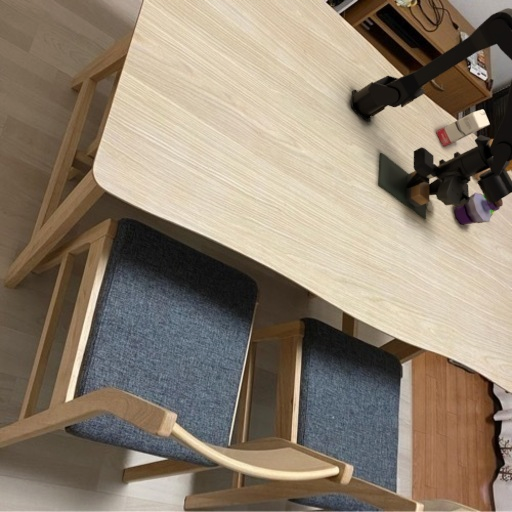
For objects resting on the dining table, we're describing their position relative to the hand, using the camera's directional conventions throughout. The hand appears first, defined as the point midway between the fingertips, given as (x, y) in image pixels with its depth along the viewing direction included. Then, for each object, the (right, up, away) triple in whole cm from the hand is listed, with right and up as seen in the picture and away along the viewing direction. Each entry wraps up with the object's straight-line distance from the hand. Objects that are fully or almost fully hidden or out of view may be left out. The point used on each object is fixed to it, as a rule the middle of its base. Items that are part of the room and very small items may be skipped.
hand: (412, 190), depth 144 cm
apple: (+26, -3, +23) cm, 35 cm away
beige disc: (+5, -4, +4) cm, 8 cm away
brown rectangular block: (0, 0, 0) cm, 0 cm away
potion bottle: (+17, -6, +14) cm, 23 cm away
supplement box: (+32, +9, +34) cm, 47 cm away
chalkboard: (-3, +1, -1) cm, 3 cm away
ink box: (+16, +18, +24) cm, 34 cm away
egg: (+27, +8, +29) cm, 40 cm away
